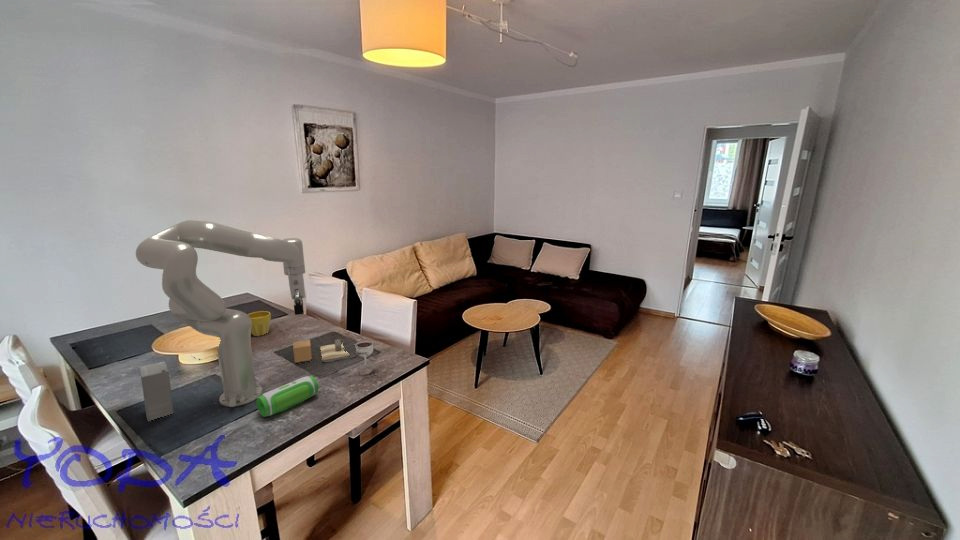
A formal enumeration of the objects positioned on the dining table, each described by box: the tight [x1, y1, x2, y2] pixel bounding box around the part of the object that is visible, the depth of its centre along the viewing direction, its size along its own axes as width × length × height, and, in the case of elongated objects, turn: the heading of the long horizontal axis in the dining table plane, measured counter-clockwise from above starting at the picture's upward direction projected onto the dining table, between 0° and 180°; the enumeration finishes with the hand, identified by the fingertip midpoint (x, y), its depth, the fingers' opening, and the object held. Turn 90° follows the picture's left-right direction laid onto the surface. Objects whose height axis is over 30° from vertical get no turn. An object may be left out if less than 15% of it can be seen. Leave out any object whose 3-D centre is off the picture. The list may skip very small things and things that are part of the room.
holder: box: [319, 338, 350, 362], centre depth 161 cm, size 14×14×6 cm
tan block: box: [292, 339, 313, 363], centre depth 155 cm, size 6×6×7 cm
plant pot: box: [247, 310, 272, 337], centre depth 179 cm, size 10×10×10 cm
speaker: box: [255, 375, 319, 418], centre depth 124 cm, size 18×7×8 cm, turn 142°
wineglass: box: [354, 339, 374, 369], centre depth 146 cm, size 7×7×12 cm
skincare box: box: [139, 360, 174, 422], centre depth 117 cm, size 8×7×16 cm
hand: (299, 310), depth 151 cm, fingers open, 9 cm apart
